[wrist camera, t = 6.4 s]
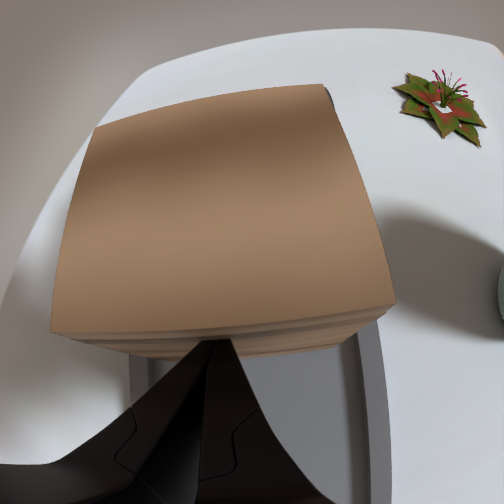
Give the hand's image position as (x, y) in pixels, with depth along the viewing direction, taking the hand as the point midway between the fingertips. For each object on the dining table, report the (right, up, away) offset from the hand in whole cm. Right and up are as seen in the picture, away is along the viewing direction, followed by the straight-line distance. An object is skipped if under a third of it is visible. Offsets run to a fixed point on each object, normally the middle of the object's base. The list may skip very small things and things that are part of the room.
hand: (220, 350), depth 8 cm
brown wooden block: (+1, +1, +9) cm, 9 cm away
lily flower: (+21, +18, +16) cm, 32 cm away
